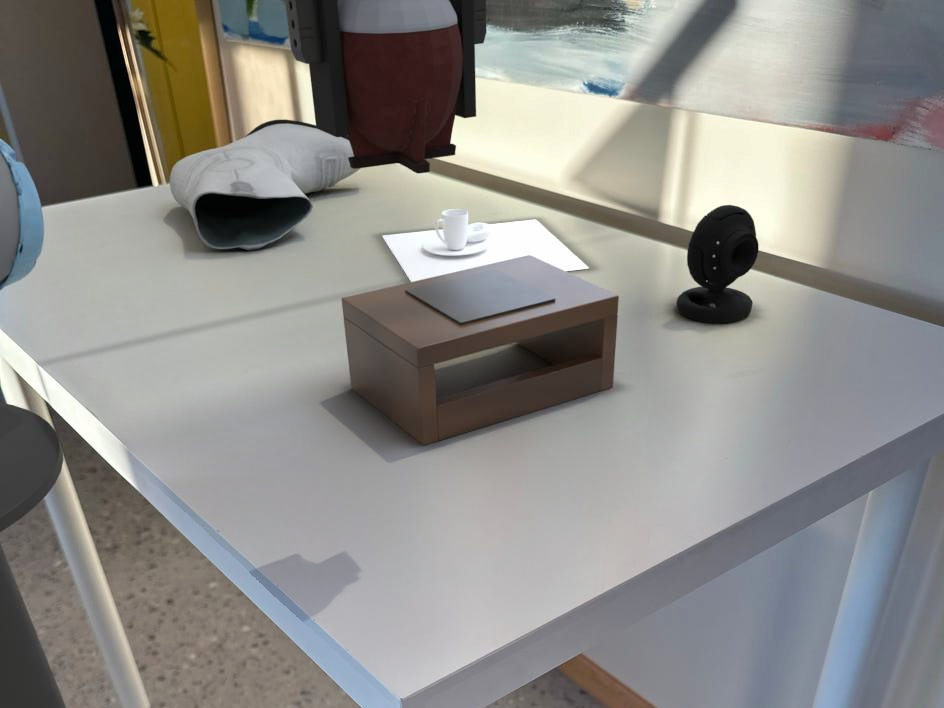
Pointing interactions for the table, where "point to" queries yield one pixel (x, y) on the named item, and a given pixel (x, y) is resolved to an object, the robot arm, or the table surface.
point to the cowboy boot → (259, 182)
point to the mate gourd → (400, 80)
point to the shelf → (479, 343)
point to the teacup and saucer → (475, 246)
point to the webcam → (720, 265)
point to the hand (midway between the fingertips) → (397, 121)
